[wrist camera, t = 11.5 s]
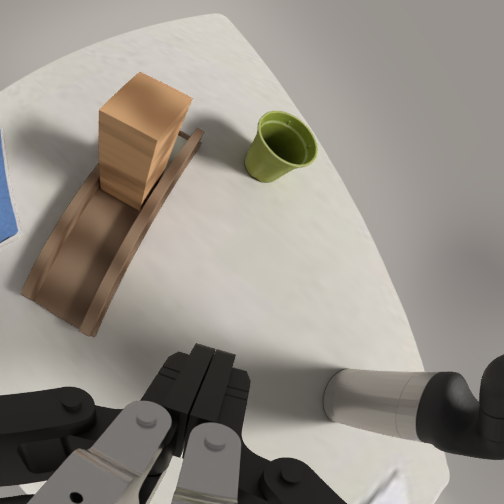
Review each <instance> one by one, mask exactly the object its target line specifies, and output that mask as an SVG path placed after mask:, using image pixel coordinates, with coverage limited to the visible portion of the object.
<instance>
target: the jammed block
mask: <svg viewBox="0 0 504 504" xmlns="http://www.w3.org/2000/svg"><path fill="white" fill-rule="evenodd" d="M192 99H193V98H191V97H189V96H188V95H186V94H184V93H182V92H180V91H178V90H176V89H174V88H172V87H170V86H168V85H166V84H164V83H162V82H160V81H158V80H156V79H154V78H152V77H150V76H148V75H146V74H143V73H141V72H139V73H138V74H137V75H136V76H134V77H133V78H132V79H131V80H130V81H129V82H128V83H126V84H125V85H124V86H123V87H122V88H121V89H120V90H119V91H118V92H117V93H116V94H115V95H114V96H113V97H112V98H110V99H109V100H108V101H107V102H106V103H105V104H104V105H103V106H102V107H101V108H100V109H99V168H100V185H101V189H102V190H103V191H105V192H107V193H109V194H110V195H112V196H114V197H116V198H117V199H119V200H121V201H123V202H124V203H126V204H128V205H130V206H131V207H133V208H135V209H137V210H139V211H140V210H141V209H142V207H143V205H144V204H145V202H146V201H147V199H148V197H149V196H150V194H151V193H152V191H153V190H154V188H155V186H156V185H157V183H158V182H159V180H160V179H161V177H162V176H163V173H164V171H165V168H166V165H167V162H168V159H169V157H170V154H171V151H172V149H173V146H174V143H175V141H176V138H177V135H178V133H179V130H180V128H181V125H182V123H183V120H184V118H185V116H186V113H187V111H188V108H189V106H190V104H191V101H192Z"/></svg>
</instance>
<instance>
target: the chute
mask: <svg viewBox="0 0 504 504" xmlns="http://www.w3.org/2000/svg"><path fill="white" fill-rule="evenodd" d="M203 134H204V131H202V130H201V129H199V128H197V129H196V130H195V131H194V133H193V134H192V136H189V135H187V134H185V133H183V132H182V131H180V130H179V133H178V135H177V138H176V141H175V143H174V146H173V149H172V151H171V154H170V157H169V159H168V162H167V165H166V168H165V171H164V173H163V176H162V177H161V179H160V180H159V182H158V183H157V185H156V186H155V188H154V190H153V191H152V193H151V194H150V196H149V197H148V199H147V201H146V202H145V204H144V205H143V207H142V209H141V210H140V211H139V210H137V209H135V208H133V207H131V206H130V205H128V204H126V203H124V202H123V201H121V200H119V199H117V198H116V197H114V196H112V195H110V194H109V193H107V192H105V191H103V190H102V189H101V185H100V168H99V163H98V164H97V166H96V167H95V168H94V170H93V171H92V172H91V174H90V175H89V177H88V178H87V179H86V181H85V182H84V184H83V185H82V186H81V188H80V189H79V191H78V192H77V194H76V195H75V197H74V198H73V200H72V201H71V203H70V204H69V206H68V207H67V209H66V210H65V212H64V213H63V215H62V217H61V218H60V220H59V221H58V223H57V225H56V226H55V228H54V230H53V231H52V233H51V235H50V237H49V238H48V240H47V242H46V244H45V245H44V247H43V249H42V251H41V253H40V255H39V256H38V258H37V260H36V262H35V264H34V266H33V268H32V270H31V272H30V274H29V276H28V278H27V280H26V282H25V285H24V287H23V289H22V291H21V294H22V295H23V296H25V297H26V298H28V299H30V300H33V301H35V302H37V303H38V304H40V305H41V306H43V307H44V308H46V309H47V310H49V311H50V312H52V313H53V314H55V315H57V316H58V317H60V318H61V319H63V320H65V321H66V322H68V323H70V324H71V325H73V326H75V327H77V328H78V329H80V330H79V331H80V332H82V333H83V334H85V335H87V336H92V337H95V336H96V334H97V331H98V329H99V327H100V324H101V322H102V320H103V318H104V316H105V313H106V311H107V309H108V307H109V305H110V303H111V300H112V298H113V296H114V294H115V292H116V290H117V288H118V286H119V284H120V282H121V280H122V278H123V276H124V274H125V272H126V270H127V268H128V266H129V264H130V262H131V260H132V259H133V257H134V255H135V253H136V251H137V249H138V247H139V245H140V244H141V242H142V240H143V238H144V236H145V235H146V233H147V231H148V229H149V227H150V226H151V224H152V222H153V220H154V219H155V217H156V215H157V214H158V212H159V210H160V209H161V207H162V205H163V203H164V202H165V200H166V198H167V197H168V195H169V194H170V192H171V190H172V189H173V187H174V185H175V184H176V182H177V181H178V179H179V178H180V176H181V174H182V173H183V171H184V170H185V168H186V167H187V165H188V164H189V162H190V161H191V159H192V158H193V156H194V155H195V153H196V152H197V150H198V149H199V147H200V145H201V142H200V140H201V138H202V136H203Z"/></svg>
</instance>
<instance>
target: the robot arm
mask: <svg viewBox="0 0 504 504" xmlns="http://www.w3.org/2000/svg"><path fill="white" fill-rule="evenodd" d="M214 354H215V355H214ZM235 356H236V355H235V354H232V353H228V352H224V351H221V350H216V352H215V349H214V348H210V347H207V346H204V345H200V344H197V343H196V344H195V346H194V348H193V349H192V351H191V353H190V355H188V354H185V353H182V352H177V353H175V354H173V355H171V356H170V357H168V359H167V360H166V362H165V363H164V365H163V367H162V368H161V369H160V371H159V372H158V374H157V375H156V377H155V379H154V380H153V382H152V383H151V385H150V386H149V388H148V389H147V391H146V393H145V394H144V396H143V397H142V399H141V400H140V401H136V402H132V403H130V404H128V405H127V406H126V407H125V408H124V409H111V408H106V407H101V406H96V405H95V403H94V400H93V398H92V397H91V396H90V394H88V393H87V392H86V391H84V390H82V389H80V388H76V387H62V388H55V389H49V390H42V391H35V392H27V393H19V394H10V395H0V486H11V485H20V484H28V483H34V482H41V481H46V480H47V482H46V483H45V484H44V485H43V486H42V487H41V488H40V489H39V491H38V492H37V493H36V494H29V495H19V496H13V497H6V498H0V504H149V503H150V501H151V499H152V498H153V496H154V494H155V492H156V490H157V488H158V486H159V485H160V483H161V481H162V479H163V477H164V475H165V473H166V469H167V468H168V466H169V463H170V461H171V459H172V456H176V457H181V454H182V452H183V457H182V458H183V463H182V467H181V471H180V475H179V479H178V483H177V487H176V490H175V492H174V495H173V499H172V502H171V504H347V503H346V502H345V501H344V500H342V499H341V498H340V497H339V496H338V495H337V494H336V493H335V492H334V491H333V490H332V489H331V488H330V487H329V486H328V485H327V484H326V483H325V482H324V481H323V480H322V479H321V478H320V477H319V476H318V475H317V474H316V473H315V472H314V471H313V470H312V469H311V468H310V467H309V466H308V465H307V464H305V463H304V462H302V461H300V460H297V459H294V458H278V459H275V460H273V461H269V460H267V459H265V458H262V457H260V456H258V455H256V454H255V453H253V452H252V451H250V450H249V449H248V448H247V446H246V445H245V444H244V442H243V440H242V435H241V433H242V426H243V421H244V416H245V410H246V405H247V399H248V394H249V388H250V382H251V381H250V379H249V376H248V374H247V371H243V370H240V369H236V368H232V367H233V363H234V360H235ZM479 395H480V396H479V401H477V399H476V398H475V397H474V396H473V394H472V393H471V391H470V389H469V387H468V385H467V382H466V380H465V379H464V377H463V376H462V375H461V374H459V373H456V372H392V371H371V370H357V369H345V370H342V371H340V372H338V373H337V374H336V375H334V377H333V378H332V379H331V380H330V382H329V383H328V385H327V388H326V390H325V394H324V400H323V404H324V410H325V413H326V415H327V416H328V417H329V418H330V419H331V420H332V421H334V422H338V423H341V424H345V425H348V426H351V427H355V428H359V429H363V430H367V431H371V432H375V433H379V434H383V435H388V436H392V437H397V438H402V439H408V440H413V441H419V442H424V443H430V444H432V445H434V446H435V447H436V448H438V449H439V450H441V451H444V452H448V453H452V454H458V455H464V456H470V457H475V458H482V459H491V460H503V459H504V355H502V356H500V357H497V358H496V359H494V360H493V361H492V362H491V363H490V364H489V365H488V367H487V368H486V369H485V371H484V373H483V376H482V379H481V386H480V394H479ZM183 449H184V451H183ZM81 502H82V503H81Z"/></svg>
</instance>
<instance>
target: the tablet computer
mask: <svg viewBox="0 0 504 504" xmlns="http://www.w3.org/2000/svg"><path fill="white" fill-rule="evenodd" d="M21 234H22V228H21V225H20V221H19V218H18V214H17V210H16V206H15V202H14V197H13V192H12V187H11V182H10V177H9V171H8V165H7V158H6V151H5V142H4V131H3V127H2V126H0V248H2V247H4V246H6V245H8V244H9V243H11V242H13V241H15V240H17V239H18V238H19V237H20V236H21Z"/></svg>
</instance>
